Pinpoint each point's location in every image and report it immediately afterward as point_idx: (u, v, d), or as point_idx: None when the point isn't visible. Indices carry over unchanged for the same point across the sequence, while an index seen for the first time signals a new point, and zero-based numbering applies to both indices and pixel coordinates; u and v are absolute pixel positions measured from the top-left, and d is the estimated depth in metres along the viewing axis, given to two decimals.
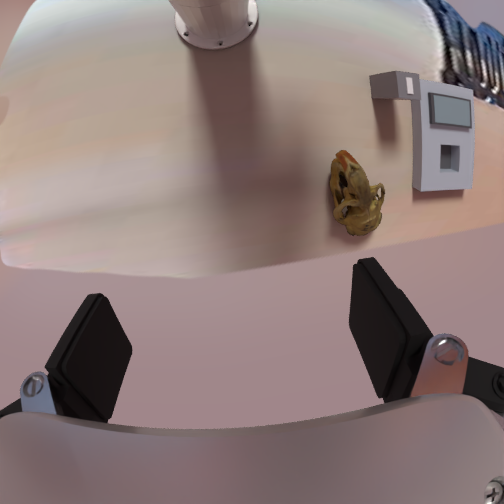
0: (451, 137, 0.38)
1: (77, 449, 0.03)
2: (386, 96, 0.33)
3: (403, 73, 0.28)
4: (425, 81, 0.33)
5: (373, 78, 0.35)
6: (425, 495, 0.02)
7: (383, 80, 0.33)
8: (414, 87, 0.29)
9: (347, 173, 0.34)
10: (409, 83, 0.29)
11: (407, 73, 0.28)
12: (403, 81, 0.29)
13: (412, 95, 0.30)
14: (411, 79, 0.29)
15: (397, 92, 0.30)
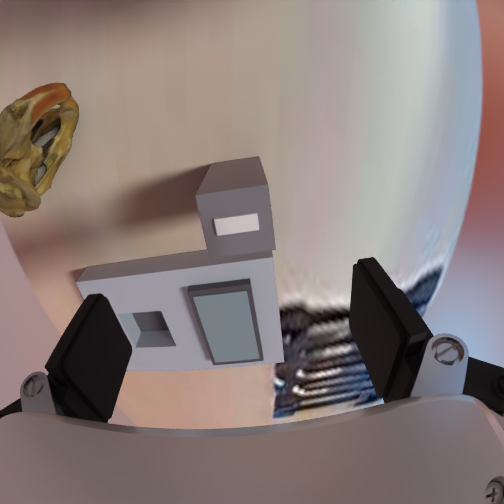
0: (182, 330, 0.28)
1: (77, 449, 0.03)
2: (207, 178, 0.18)
3: (266, 206, 0.16)
4: (271, 272, 0.25)
5: (251, 160, 0.22)
6: (425, 495, 0.02)
7: (245, 171, 0.19)
8: (235, 238, 0.17)
9: (13, 103, 0.10)
10: (242, 222, 0.16)
11: (268, 217, 0.16)
12: (242, 206, 0.16)
13: (213, 233, 0.16)
14: (255, 229, 0.16)
15: (208, 192, 0.15)
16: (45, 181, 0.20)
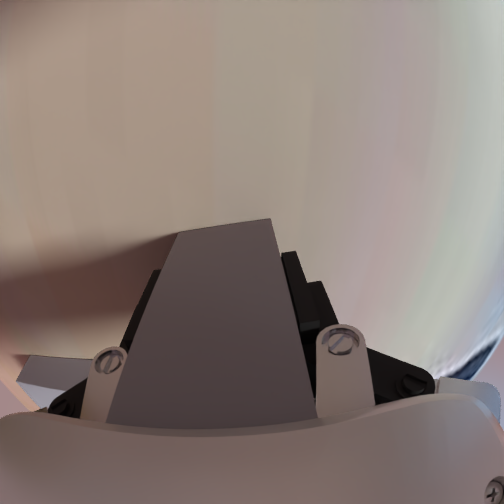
0: None
1: (77, 449, 0.03)
2: (153, 308, 0.07)
3: None
4: None
5: (257, 236, 0.11)
6: (425, 495, 0.02)
7: (243, 290, 0.08)
8: None
9: None
10: None
11: None
12: None
13: None
14: None
15: (138, 422, 0.04)
16: None
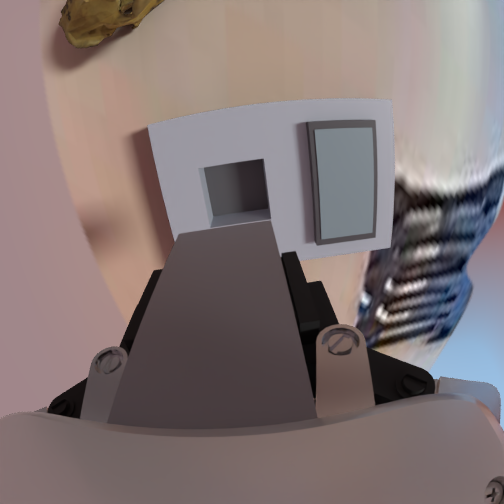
0: (285, 190, 0.23)
1: (77, 449, 0.03)
2: (153, 311, 0.07)
3: None
4: (390, 117, 0.20)
5: (257, 238, 0.11)
6: (425, 495, 0.02)
7: (243, 293, 0.08)
8: None
9: None
10: None
11: None
12: None
13: None
14: None
15: (139, 425, 0.04)
16: None
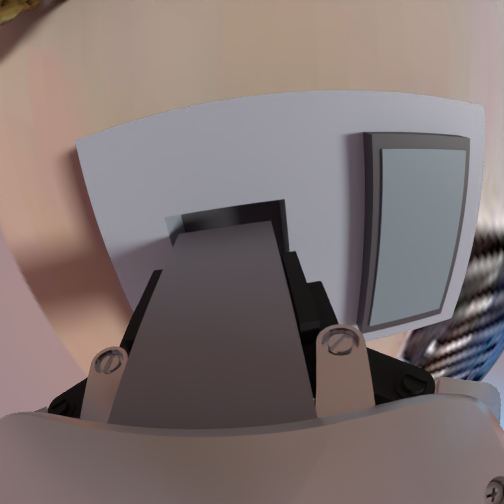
0: (319, 254, 0.13)
1: (77, 449, 0.03)
2: (153, 311, 0.07)
3: None
4: (481, 133, 0.10)
5: (257, 238, 0.11)
6: (425, 495, 0.02)
7: (243, 293, 0.08)
8: None
9: None
10: None
11: None
12: None
13: None
14: None
15: (139, 425, 0.04)
16: None
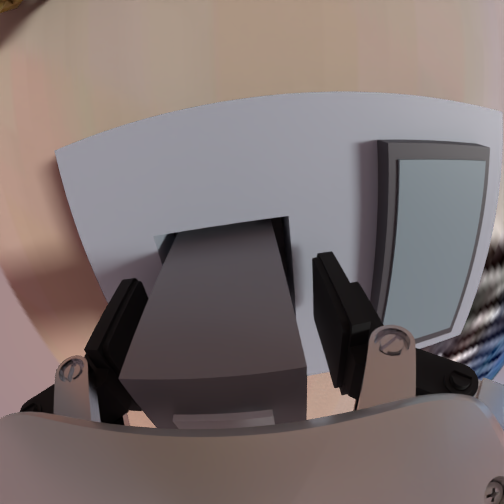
0: None
1: (77, 449, 0.03)
2: (162, 283, 0.09)
3: (295, 400, 0.06)
4: (499, 141, 0.09)
5: (255, 223, 0.12)
6: (425, 495, 0.02)
7: (242, 267, 0.09)
8: None
9: None
10: (236, 422, 0.06)
11: (299, 413, 0.06)
12: (237, 403, 0.06)
13: None
14: None
15: (149, 375, 0.05)
16: None
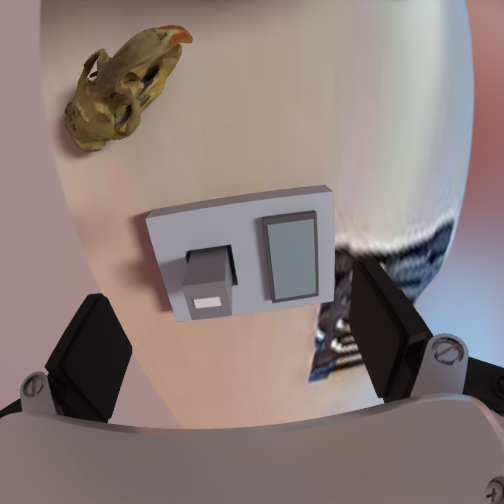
0: (247, 265, 0.32)
1: (77, 449, 0.03)
2: (189, 266, 0.28)
3: (224, 292, 0.26)
4: (331, 205, 0.29)
5: (220, 246, 0.32)
6: (425, 495, 0.02)
7: (214, 261, 0.29)
8: (207, 309, 0.26)
9: None
10: (210, 301, 0.26)
11: (226, 298, 0.26)
12: (210, 292, 0.26)
13: (193, 306, 0.26)
14: (218, 304, 0.26)
15: (189, 284, 0.25)
16: None
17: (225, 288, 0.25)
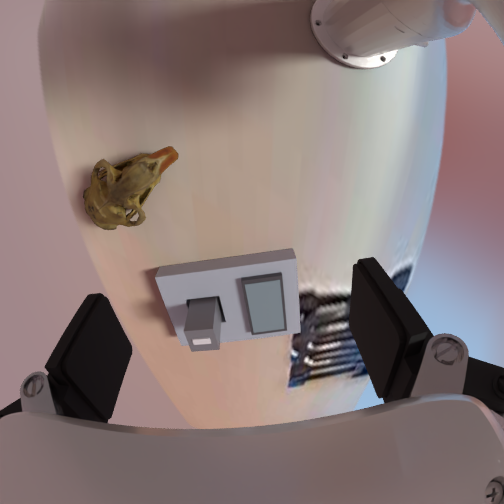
0: (232, 309, 0.42)
1: (77, 449, 0.03)
2: (189, 313, 0.39)
3: (213, 335, 0.36)
4: (295, 268, 0.39)
5: None
6: (425, 495, 0.02)
7: (206, 309, 0.39)
8: (201, 345, 0.37)
9: (144, 159, 0.25)
10: (203, 340, 0.36)
11: (214, 339, 0.36)
12: (203, 335, 0.36)
13: (192, 343, 0.37)
14: (209, 343, 0.37)
15: (189, 330, 0.36)
16: None
17: (213, 333, 0.36)
